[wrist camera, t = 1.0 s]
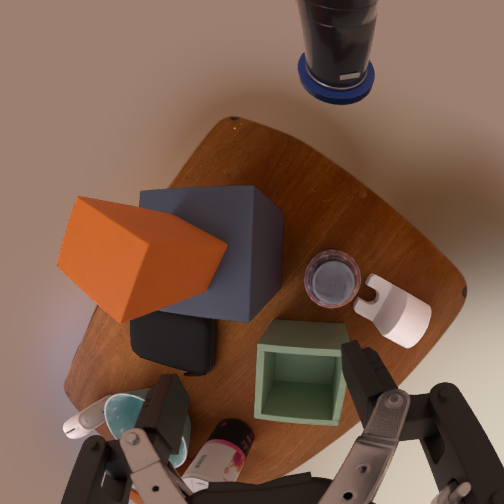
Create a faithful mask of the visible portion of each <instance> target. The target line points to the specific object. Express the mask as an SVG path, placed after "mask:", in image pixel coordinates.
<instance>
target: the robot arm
mask: <svg viewBox="0 0 504 504" xmlns="http://www.w3.org/2000/svg"><path fill="white" fill-rule="evenodd" d="M378 2H379V0H296V5H297V9H298V14H299V20H300V26H301V32H302V38H303V45H304V52H305V59H306V70H307V73H308V75H309V77H310V78H311V79H312V80H313V81H314V82H315V83H316V84H317V85H319V86H321V87H323V88H325V89H328V90H332V91H339V92H343V91H350V90H353V89H356V88H357V87H359V86H360V85H361V84H362V83H363V82H364V81H365V79H366V75H367V67H368V63H369V58H370V52H371V47H372V41H373V36H374V30H375V24H376V17H377V10H378ZM341 359H342V371H343V376H344V379H345V381H346V384H347V386H348V389H349V392H350V394H351V397H352V399H353V402H354V404H355V407H356V410H357V412H358V415H359V417H360V420H361V423H362V425H363V428H364V431H363V433H362V435H361V436H359V437H358V438H357V439H356V441H355V442H354V444H353V446H352V448H351V450H350V452H349V454H348V456H347V457H346V459H345V461H344V463H343V464H342V466H341V468H340V469H339V471H338V473H337V474H336V476H335V478H334V479H333V480H331V479H327V478H321V477H311V473H310V472H306V473H300V474H295V475H289V476H284V477H281V478H278V479H275V480H272V481H269V482H266V483H263V484H259V485H255V484H247V483H240V482H234V481H227V482H208V488H205V489H202V490H200V491H197V492H195V493H193V492H192V491H191V490H190V489H189V487H188V486H187V485H186V483H185V482H184V481H183V479H182V478H181V476H180V475H179V474H178V472H177V471H176V469H175V468H174V466H173V465H172V463H171V462H170V461H169V457H170V455H179V450H180V445H181V440H182V435H183V431H184V426H185V421H186V417H187V412H188V408H189V397H188V394H187V392H186V390H185V388H184V387H183V385H182V383H181V381H180V379H179V377H178V375H177V374H163V375H161V376H160V378H159V380H158V383H157V385H153V386H152V387H151V388H150V389H149V391H148V392H147V394H146V397H145V401H144V402H143V405H142V407H141V410H140V412H139V415H138V418H137V420H136V423H135V426H134V428H131V429H128V430H127V431H125V432H124V433H123V434H122V435H121V437H120V439H117V440H111V441H106V440H105V439H104V438H103V437H101V436H99V435H93V436H90V437H89V438H87V439H86V440H85V441H84V443H83V445H82V447H81V450H80V452H79V455H78V457H77V460H76V463H75V465H74V468H73V470H72V474H71V476H70V479H69V481H68V484H67V487H66V490H65V493H64V496H63V499H62V502H61V504H128V502H129V497H130V492H131V488H132V483H134V485H135V487H136V489H137V491H138V493H139V495H140V497H141V499H142V501H143V503H144V504H375V503H374V502H372V501H373V499H374V497H375V495H376V493H377V491H378V489H379V487H380V485H381V483H382V481H383V479H384V476H385V474H386V472H387V470H388V467H389V465H390V463H391V460H392V458H393V456H394V453H395V450H396V448H397V445H398V443H399V441H405V440H414V439H419V440H420V443H421V445H422V447H423V450H424V452H425V455H426V457H427V460H428V463H429V465H430V468H431V471H432V473H433V476H434V478H435V481H436V484H437V487H438V490H439V494H438V495H437V496H436V497H435V498H434V499H433V501H432V502H431V504H504V467H503V465H502V463H501V461H500V460H499V458H498V455H497V453H496V452H495V450H494V448H493V446H492V444H491V442H490V440H489V439H488V437H487V435H486V433H485V431H484V430H483V428H482V426H481V425H480V423H479V421H478V419H477V418H476V416H475V415H474V413H473V411H472V409H471V408H470V406H469V405H468V403H467V401H466V400H465V398H464V397H463V395H462V394H461V392H460V391H459V389H458V388H457V387H456V386H455V385H454V384H452V383H447V382H443V383H439V384H437V385H435V386H434V387H433V388H432V389H431V391H430V393H427V394H419V395H409V394H407V393H406V392H405V391H403V390H400V389H398V387H397V385H396V384H395V382H394V380H393V379H392V377H391V375H390V373H389V372H388V370H387V368H386V367H385V365H384V363H383V362H382V361H381V358H380V357H379V355H378V353H377V352H376V351H374V350H373V349H371V348H370V347H367V348H364V349H361V347H360V345H359V343H358V342H357V340H354V341H350V342H347V343H343V344H341ZM104 472H106V475H105V479H104V482H103V486H102V487H101V482H102V479H103V476H104Z"/></svg>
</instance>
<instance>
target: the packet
mask: <svg viewBox="0 0 504 504" xmlns="http://www.w3.org/2000/svg"><path fill="white" fill-rule="evenodd" d="M227 247H228V244H227V243H225V242H223V241H221V240H220V239H218V238H216V237H214V236H212V235H210V234H208V233H207V232H205V231H203V230H201V229H199V228H197V227H195V226H194V225H192V224H190V223H188V222H186V221H184V220H182V219H181V218H179V217H177V216H175V215H173V214H170V213H165V212H160V211H155V210H150V209H145V208H140V207H135V206H130V205H124V204H119V203H114V202H108V201H103V200H98V199H93V198H87V197H82V196H78V197H77V198H76V201H75V204H74V207H73V210H72V213H71V216H70V219H69V222H68V226H67V229H66V232H65V236H64V239H63V243H62V247H61V250H60V254H59V258H58V263H57V266H58V267H59V268H60V269H61V270H62V271H63V272H64V273H65V274H66V275H67V276H68V277H69V278H70V279H71V280H72V281H73V282H74V283H75V284H76V285H77V286H78V287H79V288H80V289H81V290H82V291H84V292H85V293H86V294H87V295H88V296H89V297H90V298H91V299H92V300H93V301H94V302H96V303H97V304H98V305H99V306H100V307H101V308H102V309H104V310H105V311H106V312H107V313H108V314H109V315H111V316H112V317H113V318H114V319H115V320H117V321H118V322H119V323H121V324H122V323H125V322H127V321H130V320H133V319H135V318H138V317H141V316H143V315H146V314H149V313H151V312H154V311H157V310H159V309H162V308H165V307H167V306H170V305H172V304H175V303H178V302H180V301H183V300H185V299H188V298H191V297H193V296H196V295H198V294H201V293H204V292H206V291H207V289H208V287H209V285H210V282H211V280H212V278H213V276H214V274H215V272H216V270H217V268H218V266H219V263H220V261H221V259H222V257H223V255H224V253H225V251H226V249H227Z"/></svg>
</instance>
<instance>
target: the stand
mask: <svg viewBox="0 0 504 504" xmlns="http://www.w3.org/2000/svg"><path fill="white" fill-rule="evenodd" d="M139 207H140V208H145V209H150V210H155V211H160V212H165V213H170V214H173V215H175V216H177V217H179V218H181V219H182V220H184V221H186V222H188V223H190V224H192V225H194V226H195V227H197V228H199V229H201V230H203V231H205V232H207V233H208V234H210V235H212V236H214V237H216V238H218V239H220V240H221V241H223V242H225V243H227V244H228V247H227V249H226V251H225V253H224V255H223V257H222V259H221V261H220V263H219V266H218V268H217V270H216V272H215V274H214V276H213V278H212V280H211V282H210V285H209V287H208V289H207V291H206V292H204V293H201V294H198V295H196V296H193V297H191V298H188V299H185V300H183V301H180V302H178V303H175V304H172V305H170V306H167V307H165V308H162V309H159V310H158V311H164V312H170V313H177V314H183V315H190V316H197V317H205V318H212V319H220V320H229V321H238V322H247V323H249V322H250V321H251V320H252V319H253V318H254V317H255V316H256V315H257V314H258V313H259V312H260V311H261V309H262V308H263V307H264V306H265V305H266V304H267V303H268V302H269V301H270V300H271V299H272V298H273V297H274V296H275V294H276V293H277V292H278V291H279V290H280V289H281V279H282V256H283V227H284V212H283V211H282V210H280V209H279V208H278V207H277V206H276V205H275V204H274V203H273V202H272V201H271V200H270V199H268V198H267V197H266V196H265V195H264V194H263V193H262V192H261V191H260V190H258V189H257V188H256V187H255V186H254V185H239V186H209V187H189V188H172V189H158V190H146V191H141V192H140V202H139Z"/></svg>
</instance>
